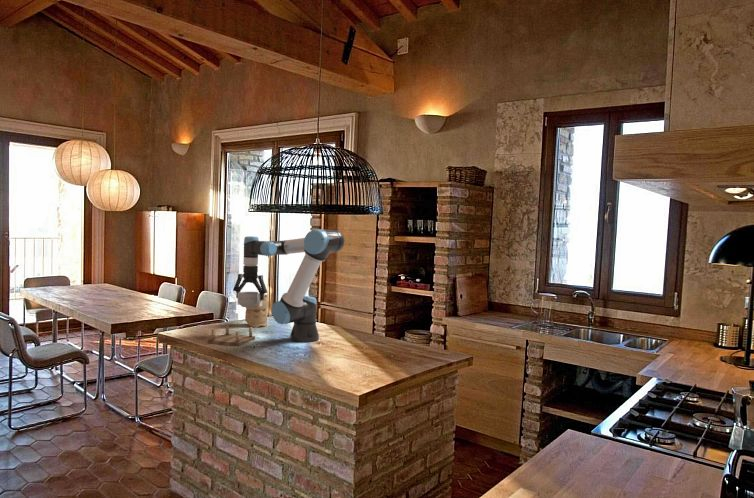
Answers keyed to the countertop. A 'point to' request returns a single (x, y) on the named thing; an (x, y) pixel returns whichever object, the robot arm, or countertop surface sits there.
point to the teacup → (248, 299)
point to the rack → (231, 338)
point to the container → (257, 314)
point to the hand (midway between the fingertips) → (249, 305)
